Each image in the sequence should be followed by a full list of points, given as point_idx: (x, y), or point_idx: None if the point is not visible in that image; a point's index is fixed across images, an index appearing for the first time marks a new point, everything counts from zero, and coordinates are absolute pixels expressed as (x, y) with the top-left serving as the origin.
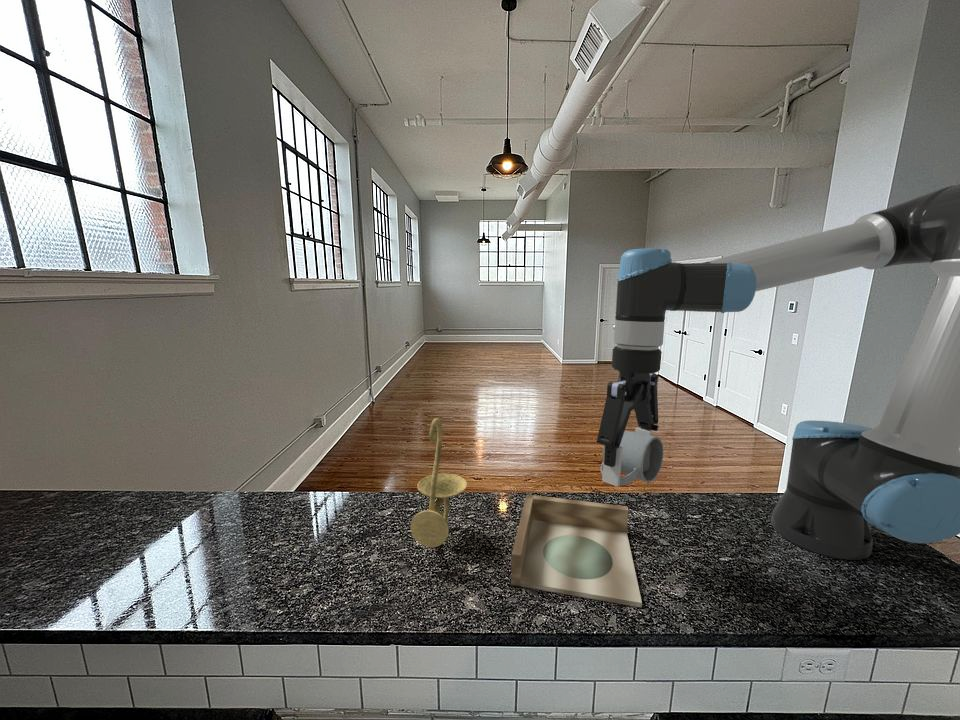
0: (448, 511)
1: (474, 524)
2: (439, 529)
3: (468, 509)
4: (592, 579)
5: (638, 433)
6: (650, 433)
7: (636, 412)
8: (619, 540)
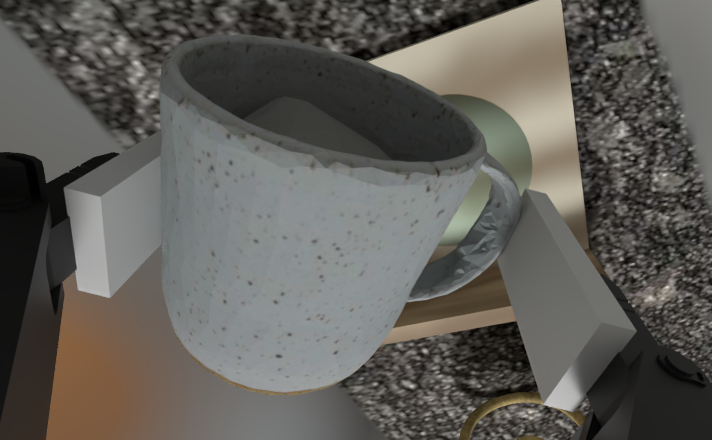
0: (464, 428)
1: (432, 370)
2: None
3: (390, 395)
4: (519, 124)
5: (243, 273)
6: (101, 189)
7: (41, 429)
8: None
